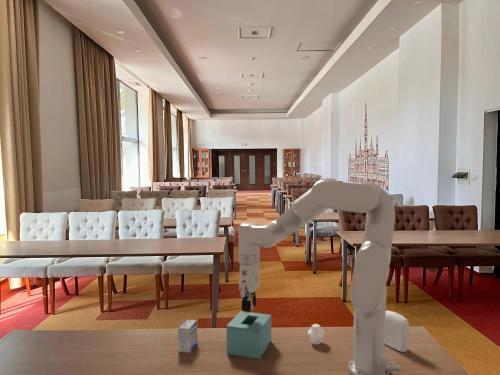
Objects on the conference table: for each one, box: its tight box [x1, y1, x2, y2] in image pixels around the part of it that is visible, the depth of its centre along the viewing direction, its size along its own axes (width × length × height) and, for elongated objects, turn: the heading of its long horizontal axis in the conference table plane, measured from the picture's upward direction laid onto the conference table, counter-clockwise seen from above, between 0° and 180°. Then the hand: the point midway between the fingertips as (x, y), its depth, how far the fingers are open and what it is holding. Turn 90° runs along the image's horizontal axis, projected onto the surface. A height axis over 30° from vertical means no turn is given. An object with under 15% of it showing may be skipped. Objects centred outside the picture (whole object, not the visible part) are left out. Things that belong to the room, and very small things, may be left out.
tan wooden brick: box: [244, 294, 255, 313], centre depth 142 cm, size 2×5×5 cm, turn 161°
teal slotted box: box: [226, 310, 272, 360], centre depth 143 cm, size 12×14×10 cm
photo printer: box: [385, 310, 410, 353], centre depth 143 cm, size 10×4×12 cm, turn 31°
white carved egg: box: [307, 323, 326, 346], centre depth 146 cm, size 6×6×7 cm
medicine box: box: [177, 319, 198, 354], centre depth 143 cm, size 8×4×9 cm, turn 168°
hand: (248, 307), depth 142 cm, fingers closed on tan wooden brick, 4 cm apart
